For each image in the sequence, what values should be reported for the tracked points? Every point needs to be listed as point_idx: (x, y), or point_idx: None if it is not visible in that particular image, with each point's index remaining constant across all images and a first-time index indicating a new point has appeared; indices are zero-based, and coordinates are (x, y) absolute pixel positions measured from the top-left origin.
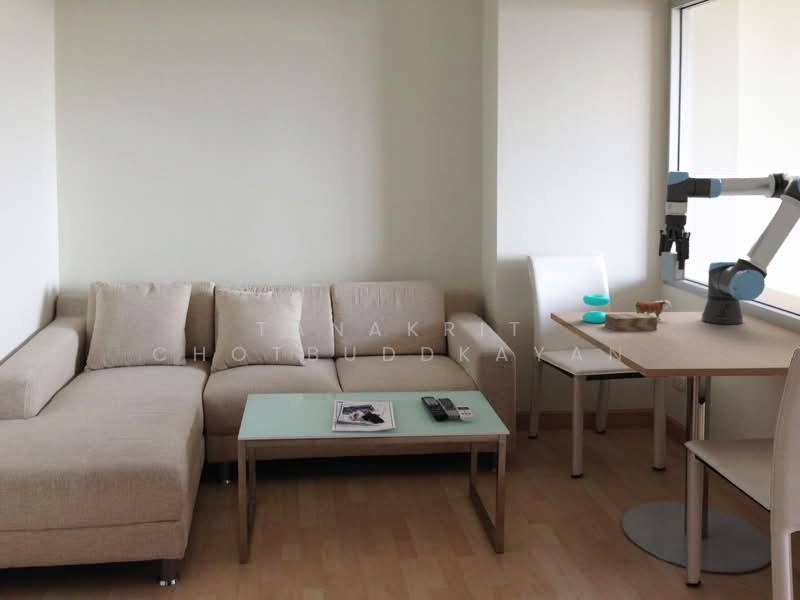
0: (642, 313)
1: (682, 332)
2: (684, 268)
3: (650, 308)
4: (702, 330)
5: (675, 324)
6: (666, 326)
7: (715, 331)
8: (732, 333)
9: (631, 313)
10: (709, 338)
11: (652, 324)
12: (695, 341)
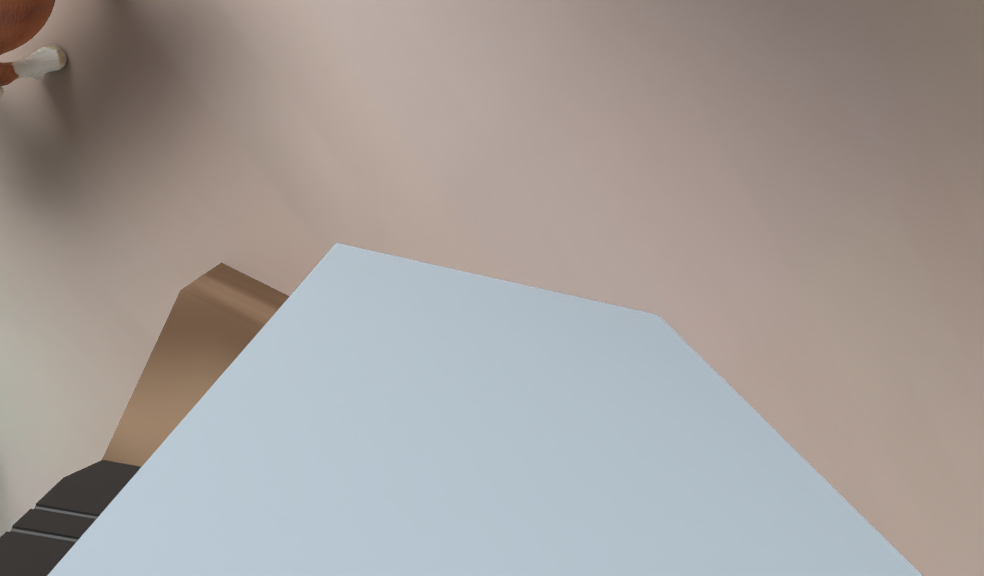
0: (186, 333)
1: (614, 293)
2: (754, 427)
3: (21, 34)
4: (678, 85)
5: (357, 13)
6: (372, 168)
7: (777, 37)
8: (921, 3)
9: (128, 413)
10: (872, 336)
11: None
12: (848, 496)
